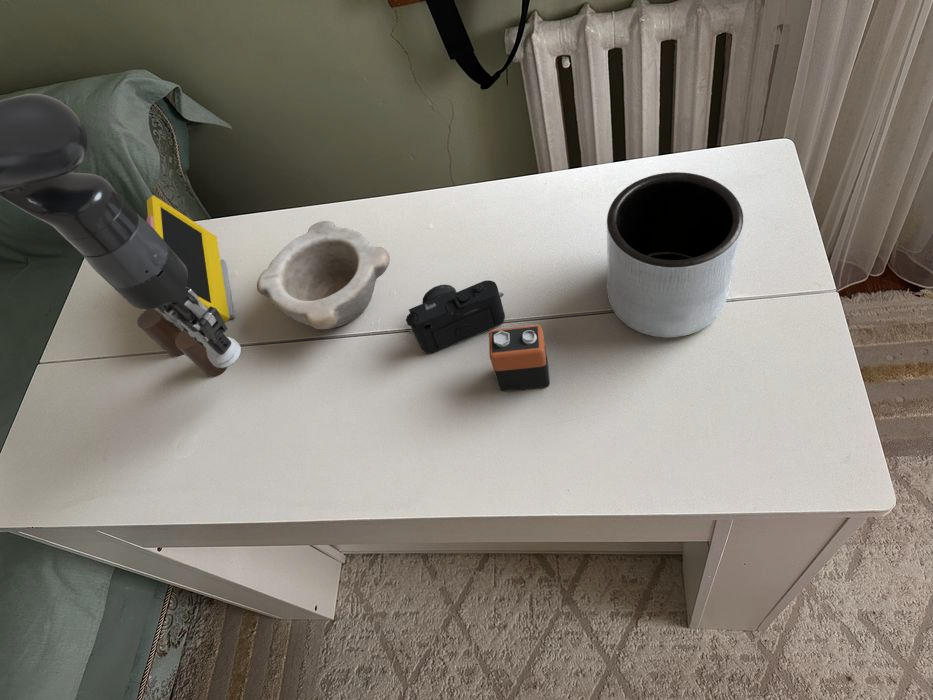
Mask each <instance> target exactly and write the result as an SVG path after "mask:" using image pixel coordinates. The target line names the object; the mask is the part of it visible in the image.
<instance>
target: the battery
mask: <svg viewBox="0 0 933 700" xmlns="http://www.w3.org/2000/svg"><path fill="white" fill-rule="evenodd" d="M545 342H546V341H545V337H544V331H543V327H542V325H540V324H532V325H524V326H514V327H504V328H496V329H490V330H489V332H488V352H489V355H488V356H489V360H490V363H491V366H492V369H493V373H494V375H495V378H496V382H497V385H498V388H499V390H500V391H501V392H508V391H519V390H529V389H541V388H548V387H549V386H550V383H551V382H550V370H549V359H548V354H547V348H546V343H545Z"/></svg>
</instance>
